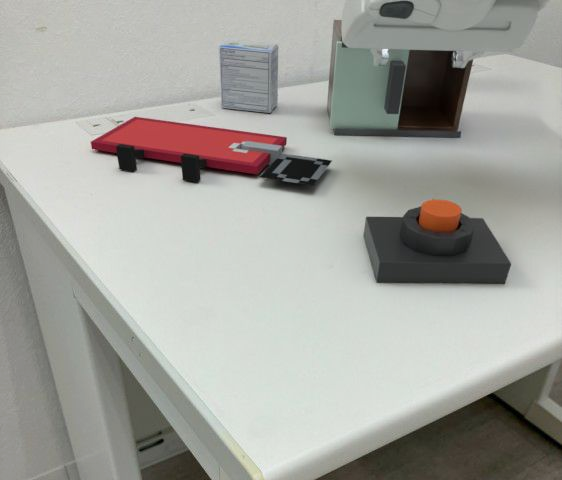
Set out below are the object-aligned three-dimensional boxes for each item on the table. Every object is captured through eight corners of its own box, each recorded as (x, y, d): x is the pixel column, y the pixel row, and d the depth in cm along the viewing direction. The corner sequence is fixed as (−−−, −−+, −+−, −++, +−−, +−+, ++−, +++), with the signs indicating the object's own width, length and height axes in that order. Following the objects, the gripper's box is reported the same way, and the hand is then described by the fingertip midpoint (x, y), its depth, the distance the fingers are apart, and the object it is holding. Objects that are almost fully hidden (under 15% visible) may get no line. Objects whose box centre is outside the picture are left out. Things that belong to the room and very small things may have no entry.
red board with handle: (308, 199, 66) (340, 155, 77) (309, 175, 64) (342, 133, 75) (75, 162, 73) (136, 127, 84) (71, 139, 71) (133, 106, 82)
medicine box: (278, 105, 92) (279, 43, 86) (270, 114, 89) (271, 50, 83) (229, 100, 93) (228, 38, 88) (220, 108, 90) (218, 45, 84)
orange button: (451, 216, 57) (456, 199, 56) (461, 234, 54) (466, 216, 53) (415, 216, 57) (418, 198, 56) (422, 234, 54) (426, 216, 53)
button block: (477, 237, 61) (487, 201, 59) (504, 284, 55) (517, 245, 52) (363, 236, 61) (368, 199, 58) (376, 283, 54) (382, 244, 52)
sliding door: (396, 128, 84) (409, 43, 77) (400, 136, 82) (414, 49, 75) (329, 126, 84) (336, 41, 77) (331, 134, 81) (339, 47, 74)
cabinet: (441, 110, 93) (458, 23, 85) (460, 137, 84) (481, 42, 76) (326, 108, 92) (333, 19, 84) (334, 135, 83) (342, 38, 75)
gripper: (561, -52, 58) (503, 38, 71) (353, -58, 57) (334, 33, 71) (563, 10, 57) (504, 88, 71) (354, 4, 56) (335, 84, 70)
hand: (418, 61), depth 71 cm, fingers open, 8 cm apart
